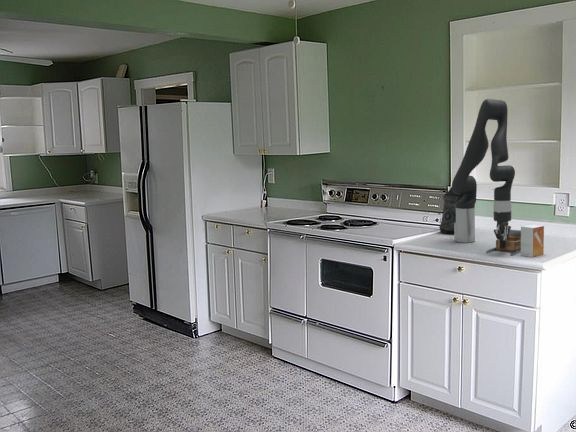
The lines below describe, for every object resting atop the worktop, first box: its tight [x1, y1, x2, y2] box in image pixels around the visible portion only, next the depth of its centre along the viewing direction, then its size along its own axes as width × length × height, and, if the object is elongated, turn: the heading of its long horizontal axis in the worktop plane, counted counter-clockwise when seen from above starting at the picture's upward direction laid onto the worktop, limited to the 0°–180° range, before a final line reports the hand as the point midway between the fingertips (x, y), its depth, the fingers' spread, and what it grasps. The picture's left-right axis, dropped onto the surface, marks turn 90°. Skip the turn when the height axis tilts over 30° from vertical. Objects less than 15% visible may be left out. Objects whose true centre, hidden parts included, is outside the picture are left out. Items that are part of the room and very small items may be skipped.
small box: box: [520, 224, 545, 258], centre depth 260 cm, size 8×6×13 cm
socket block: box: [495, 236, 521, 253], centre depth 274 cm, size 10×12×5 cm
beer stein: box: [438, 187, 463, 236], centre depth 323 cm, size 16×19×25 cm
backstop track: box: [485, 229, 521, 257], centre depth 272 cm, size 14×21×8 cm, turn 135°
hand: (502, 248), depth 266 cm, fingers closed
